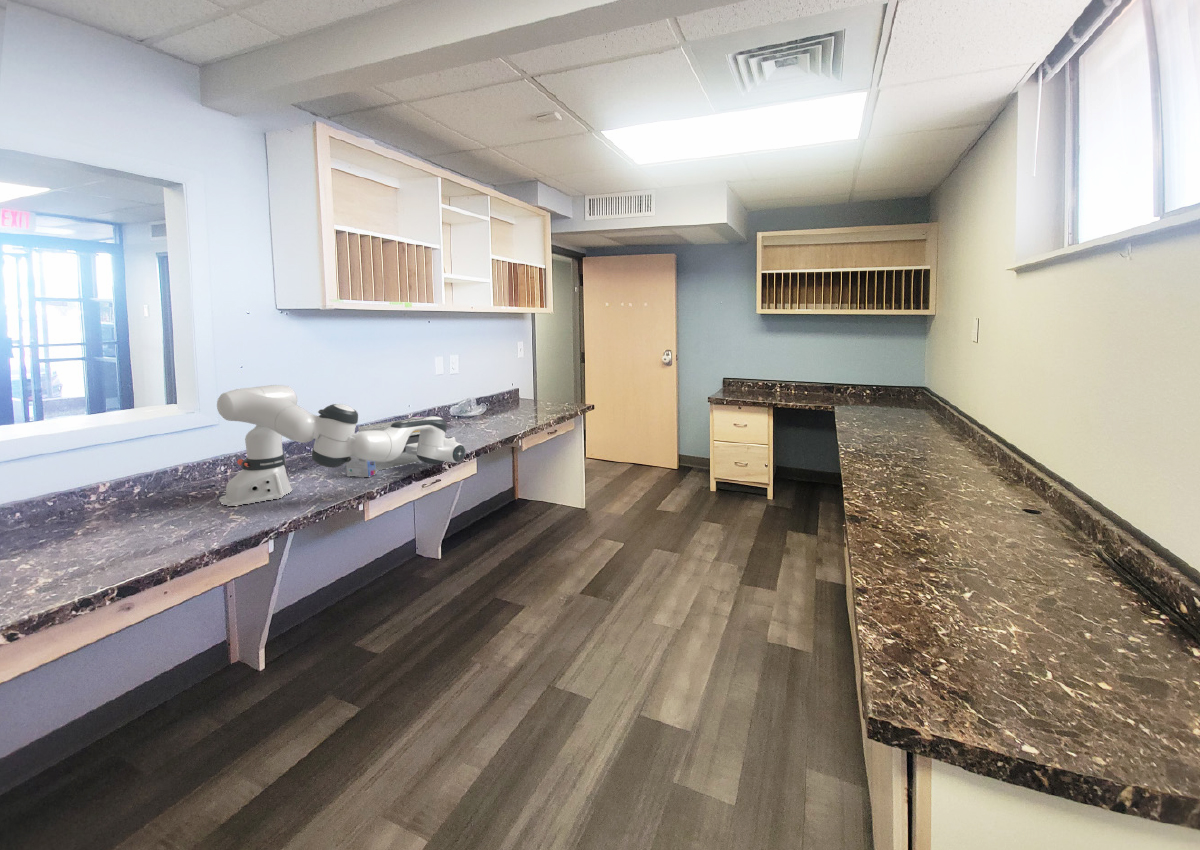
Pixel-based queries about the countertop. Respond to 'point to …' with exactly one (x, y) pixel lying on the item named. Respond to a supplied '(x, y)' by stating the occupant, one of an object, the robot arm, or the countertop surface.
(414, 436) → the button
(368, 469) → the ink cartridge box
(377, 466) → the metal drawer cabinet
